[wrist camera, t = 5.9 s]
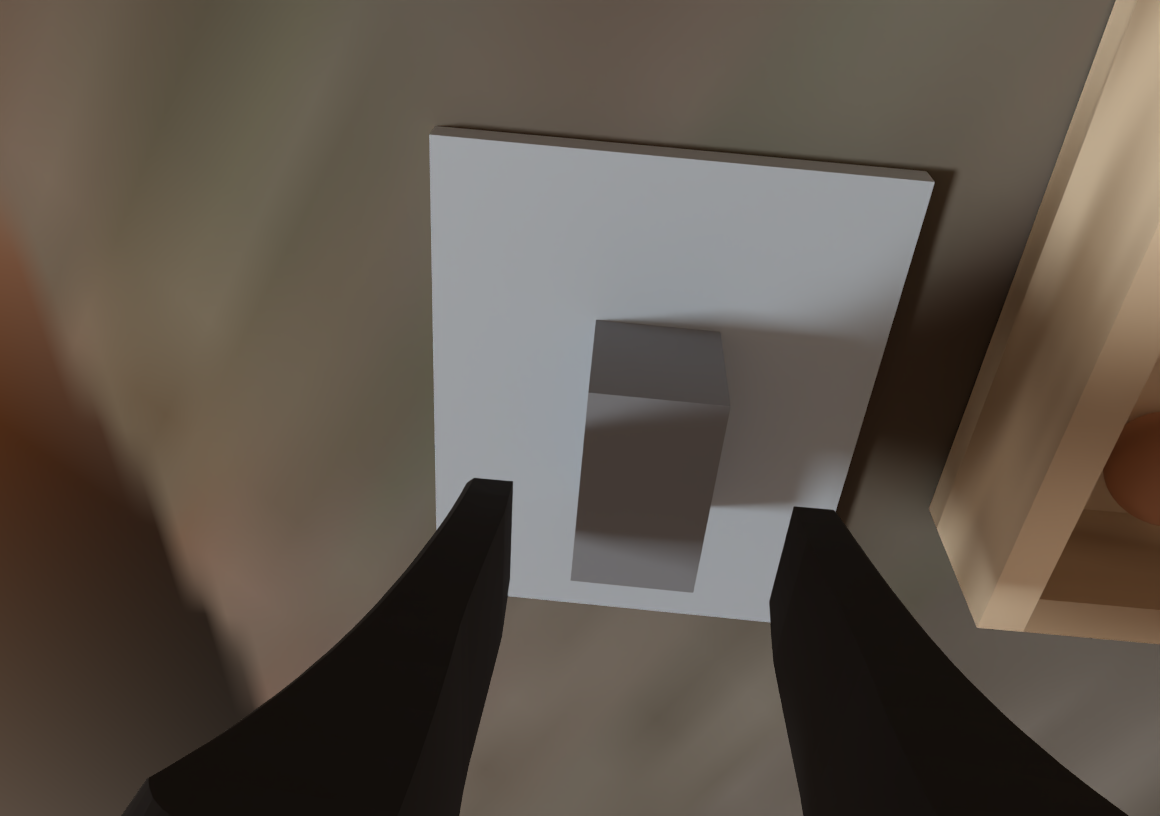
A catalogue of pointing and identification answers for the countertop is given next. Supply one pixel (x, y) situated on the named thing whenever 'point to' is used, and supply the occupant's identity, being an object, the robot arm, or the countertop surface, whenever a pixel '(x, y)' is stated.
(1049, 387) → the box
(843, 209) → the lid
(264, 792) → the robot arm
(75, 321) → the countertop surface
